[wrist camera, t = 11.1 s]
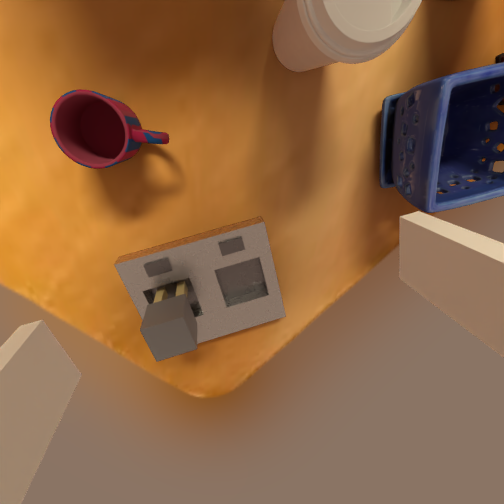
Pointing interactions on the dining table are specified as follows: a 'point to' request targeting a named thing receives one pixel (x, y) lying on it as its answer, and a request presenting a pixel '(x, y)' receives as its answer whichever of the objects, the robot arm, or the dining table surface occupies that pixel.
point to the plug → (170, 324)
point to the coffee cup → (338, 30)
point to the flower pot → (444, 140)
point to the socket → (211, 277)
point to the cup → (98, 129)
